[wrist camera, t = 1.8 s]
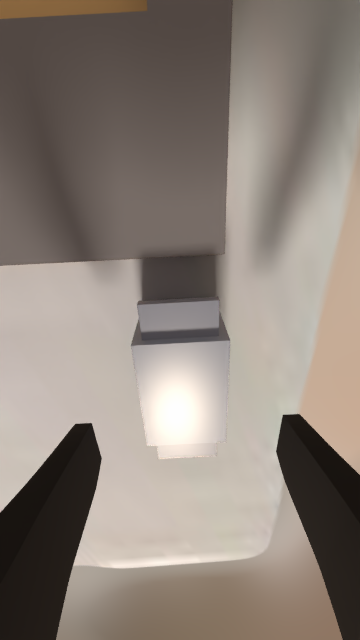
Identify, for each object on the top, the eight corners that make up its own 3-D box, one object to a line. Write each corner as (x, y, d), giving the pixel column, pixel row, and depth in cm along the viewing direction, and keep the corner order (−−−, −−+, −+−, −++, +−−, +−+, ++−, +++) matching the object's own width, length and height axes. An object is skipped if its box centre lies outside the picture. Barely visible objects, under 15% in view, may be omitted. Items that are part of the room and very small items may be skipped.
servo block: (155, 409, 17) (150, 466, 14) (138, 277, 13) (125, 309, 10) (214, 406, 17) (225, 462, 14) (216, 273, 13) (231, 303, 10)
